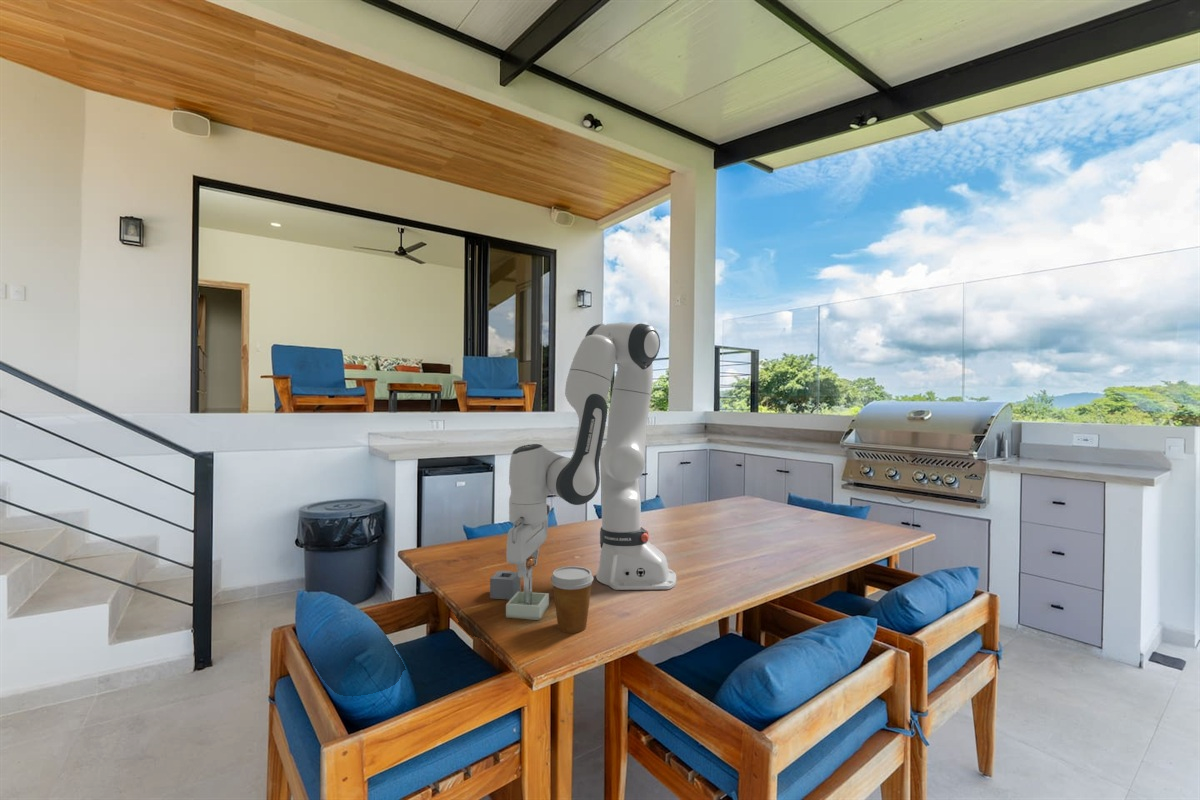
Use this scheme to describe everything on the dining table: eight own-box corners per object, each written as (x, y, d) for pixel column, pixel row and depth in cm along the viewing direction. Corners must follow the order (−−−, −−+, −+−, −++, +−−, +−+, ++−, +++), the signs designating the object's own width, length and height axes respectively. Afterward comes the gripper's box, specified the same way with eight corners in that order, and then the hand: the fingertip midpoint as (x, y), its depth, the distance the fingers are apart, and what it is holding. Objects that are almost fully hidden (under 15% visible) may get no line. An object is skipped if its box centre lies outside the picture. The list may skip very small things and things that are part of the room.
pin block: (520, 590, 132) (520, 571, 132) (512, 599, 126) (512, 579, 126) (498, 589, 133) (498, 570, 133) (490, 598, 127) (490, 578, 127)
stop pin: (536, 606, 120) (536, 556, 120) (532, 612, 117) (532, 560, 117) (523, 605, 121) (523, 555, 121) (519, 611, 118) (519, 559, 118)
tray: (548, 605, 122) (548, 593, 122) (539, 619, 114) (539, 606, 114) (517, 603, 124) (517, 591, 124) (506, 617, 116) (506, 604, 116)
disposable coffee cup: (602, 628, 110) (602, 574, 110) (565, 640, 104) (564, 583, 104) (578, 613, 118) (578, 562, 118) (542, 624, 112) (542, 570, 112)
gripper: (526, 524, 108) (526, 588, 108) (552, 504, 128) (552, 558, 128) (499, 523, 109) (499, 586, 109) (528, 503, 129) (528, 557, 129)
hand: (528, 571), depth 119 cm, fingers open, 6 cm apart
